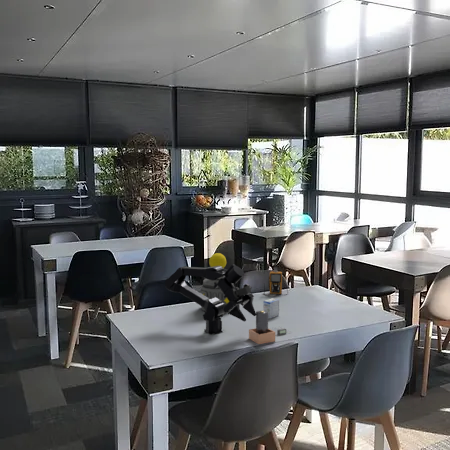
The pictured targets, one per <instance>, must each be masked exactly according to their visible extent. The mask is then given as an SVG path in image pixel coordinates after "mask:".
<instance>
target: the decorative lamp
mask: <svg viewBox="0 0 450 450" xmlns="http://www.w3.org/2000/svg"><path fill="white" fill-rule="evenodd" d="M208 263H209V267H214V266H221V267H222V268H223V269H225V267H226V265H227V259H226V256H225V255H224V254H222V253H220V252H217V253H214V254H213V253H212V255H211V256H210V257H209V260H208ZM224 277H225V276H223V277H222V278H224ZM220 279H221V278H220ZM220 279H217V280H209V279H206V278H204V279H203V281H202V282H203V283H202V285H201V287H200V293H201V294H202V295H204V296H206V297H207V298H209V299H212V298H215V297H216V298H218V299H219V300H221V301H223V303H224V304H225V305H226V304H227V303H228V302H229V300H228V299H227V298H224V296H225V295H224V294H223V292H222V291H221V290H220V288H219V287H218V288H215V289H214V282H218V281H219V280H220ZM200 307H201V310H202V311H203V312H206V311H205V309H204V308H203V307H202V306H200Z"/></svg>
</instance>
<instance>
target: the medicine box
mask: <svg viewBox="0 0 450 450" xmlns="http://www.w3.org/2000/svg"><path fill="white" fill-rule="evenodd" d="M262 304H263V310H262V311H267V312H268V319H272V318H274V317H275V318H276V317H278V316H280V299H278V298H274V297H272V298H270V299H266V300H263V303H262Z"/></svg>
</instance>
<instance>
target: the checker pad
mask: <svg viewBox="0 0 450 450" xmlns="http://www.w3.org/2000/svg"><path fill="white" fill-rule="evenodd" d="M268 328H269V327H268ZM269 329H271V330H272V331H274V332H275V337H276V336H277V337H278V336H282V335H287V334H292V333H293V332H291V331H289V330H288V329H287V328H285V327H284V328H283V327H282V326H276V327H270V328H269Z"/></svg>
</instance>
